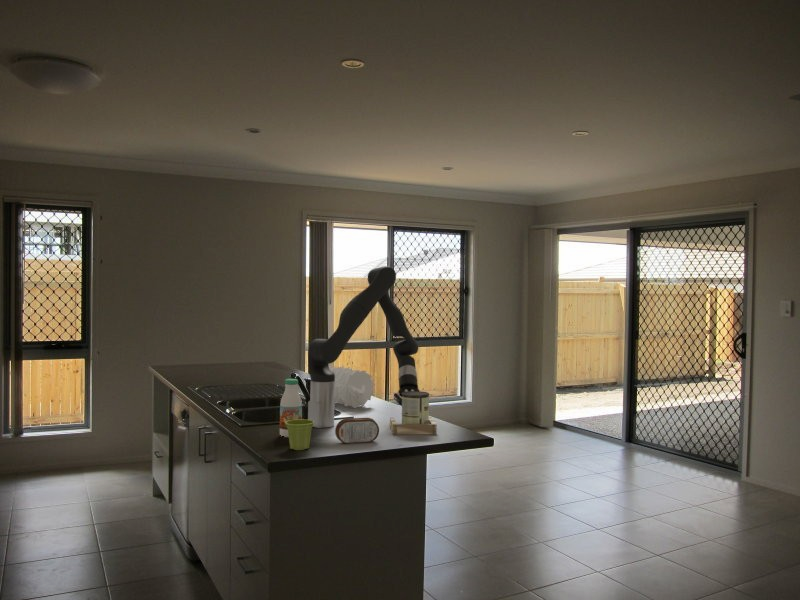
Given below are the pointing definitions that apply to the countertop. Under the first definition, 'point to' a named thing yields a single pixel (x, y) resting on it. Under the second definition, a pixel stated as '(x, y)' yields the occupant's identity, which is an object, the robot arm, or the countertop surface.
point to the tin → (357, 430)
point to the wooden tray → (413, 428)
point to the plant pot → (299, 433)
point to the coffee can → (415, 407)
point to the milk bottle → (290, 405)
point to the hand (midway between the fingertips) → (410, 414)
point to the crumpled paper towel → (352, 386)
